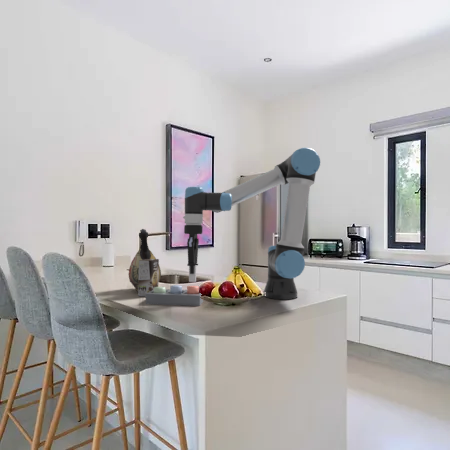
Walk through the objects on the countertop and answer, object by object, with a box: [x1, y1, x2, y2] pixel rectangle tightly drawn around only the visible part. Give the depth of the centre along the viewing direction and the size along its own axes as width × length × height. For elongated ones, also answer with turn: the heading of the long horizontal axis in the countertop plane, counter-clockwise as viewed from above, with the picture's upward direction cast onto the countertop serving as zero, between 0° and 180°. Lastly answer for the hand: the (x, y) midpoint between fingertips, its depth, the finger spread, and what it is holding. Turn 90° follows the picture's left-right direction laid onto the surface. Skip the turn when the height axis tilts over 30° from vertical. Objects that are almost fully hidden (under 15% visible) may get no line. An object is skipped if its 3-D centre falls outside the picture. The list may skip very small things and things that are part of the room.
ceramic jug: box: [128, 228, 162, 292], centre depth 172 cm, size 17×15×30 cm
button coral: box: [186, 285, 200, 294], centre depth 146 cm, size 5×5×4 cm
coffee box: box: [137, 258, 160, 297], centre depth 162 cm, size 9×6×16 cm
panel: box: [145, 288, 204, 307], centre depth 147 cm, size 22×12×4 cm, turn 84°
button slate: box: [170, 284, 183, 294], centre depth 147 cm, size 5×5×4 cm
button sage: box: [154, 286, 167, 293], centre depth 148 cm, size 5×5×4 cm
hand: (192, 281), depth 146 cm, fingers closed
